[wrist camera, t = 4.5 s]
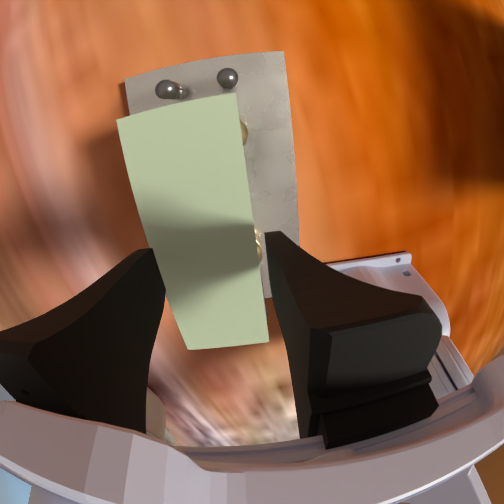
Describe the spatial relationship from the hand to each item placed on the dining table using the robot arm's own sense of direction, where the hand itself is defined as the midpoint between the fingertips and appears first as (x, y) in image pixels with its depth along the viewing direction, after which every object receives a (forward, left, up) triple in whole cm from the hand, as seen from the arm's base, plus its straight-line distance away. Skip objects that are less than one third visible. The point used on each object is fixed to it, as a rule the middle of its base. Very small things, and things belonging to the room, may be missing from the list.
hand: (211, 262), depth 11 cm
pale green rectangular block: (0, 0, -7) cm, 7 cm away
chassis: (0, 0, -9) cm, 9 cm away
